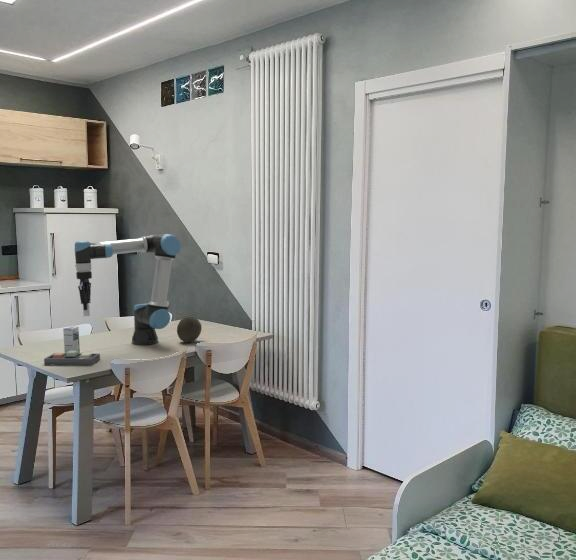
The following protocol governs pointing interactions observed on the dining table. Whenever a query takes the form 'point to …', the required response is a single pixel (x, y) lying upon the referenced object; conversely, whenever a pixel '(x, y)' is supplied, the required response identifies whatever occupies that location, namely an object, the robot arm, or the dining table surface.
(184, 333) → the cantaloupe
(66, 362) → the base
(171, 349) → the dining table surface
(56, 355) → the terracotta key
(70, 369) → the dining table surface
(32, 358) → the dining table surface
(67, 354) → the sage key
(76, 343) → the syrup box
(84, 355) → the ivory key
